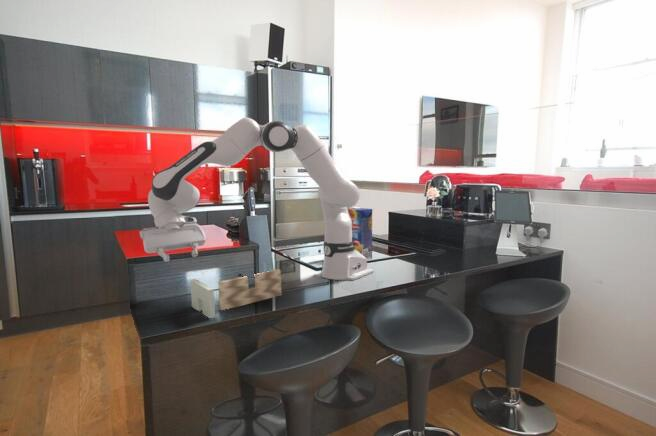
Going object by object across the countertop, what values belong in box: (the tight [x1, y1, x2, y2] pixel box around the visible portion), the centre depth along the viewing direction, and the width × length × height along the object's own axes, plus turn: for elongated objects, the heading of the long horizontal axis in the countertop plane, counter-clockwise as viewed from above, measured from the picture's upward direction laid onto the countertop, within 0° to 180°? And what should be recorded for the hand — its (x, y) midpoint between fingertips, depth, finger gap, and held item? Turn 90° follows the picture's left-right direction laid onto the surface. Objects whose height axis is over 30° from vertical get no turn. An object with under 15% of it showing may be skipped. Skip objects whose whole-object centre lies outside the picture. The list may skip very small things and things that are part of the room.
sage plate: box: [189, 278, 216, 319], centre depth 118 cm, size 2×14×9 cm, turn 41°
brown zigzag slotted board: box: [218, 268, 282, 311], centre depth 127 cm, size 22×2×9 cm, turn 130°
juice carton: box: [347, 206, 373, 261], centre depth 185 cm, size 12×8×24 cm, turn 42°
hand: (181, 257), depth 129 cm, fingers open, 8 cm apart
